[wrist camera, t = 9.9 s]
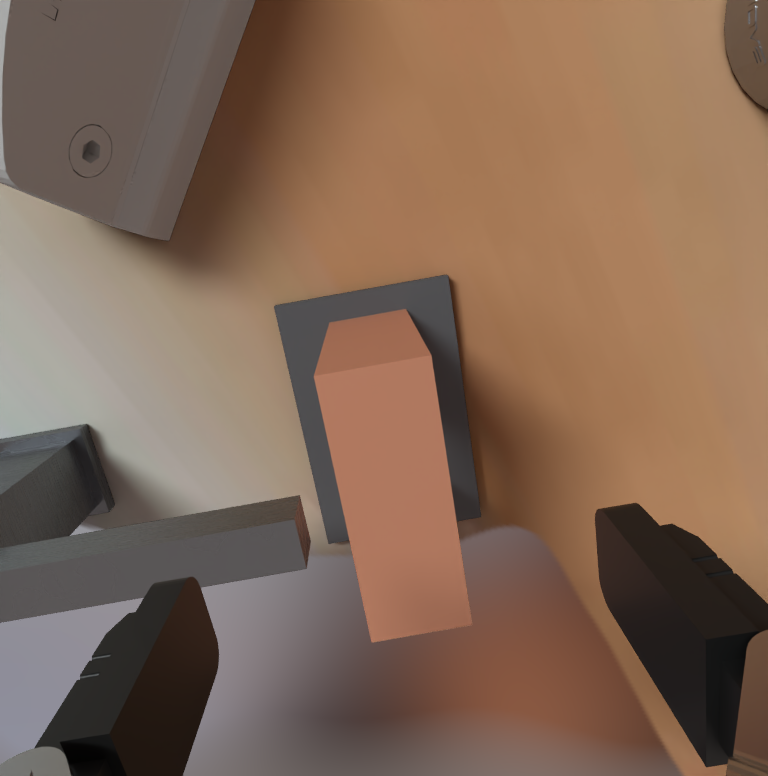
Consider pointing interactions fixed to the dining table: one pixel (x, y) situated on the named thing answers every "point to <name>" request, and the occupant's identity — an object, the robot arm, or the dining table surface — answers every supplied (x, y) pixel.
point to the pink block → (392, 474)
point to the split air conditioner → (112, 101)
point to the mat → (437, 328)
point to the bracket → (119, 534)
